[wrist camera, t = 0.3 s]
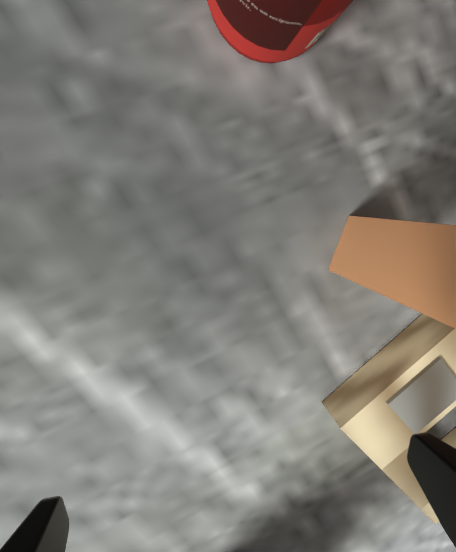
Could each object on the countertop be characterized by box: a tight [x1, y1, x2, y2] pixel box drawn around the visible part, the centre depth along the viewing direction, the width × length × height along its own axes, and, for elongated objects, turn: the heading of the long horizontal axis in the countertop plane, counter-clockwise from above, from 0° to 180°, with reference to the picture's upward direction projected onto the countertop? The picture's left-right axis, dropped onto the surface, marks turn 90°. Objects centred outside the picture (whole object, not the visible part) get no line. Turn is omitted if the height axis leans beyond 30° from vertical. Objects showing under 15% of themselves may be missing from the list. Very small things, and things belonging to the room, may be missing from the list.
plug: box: [328, 216, 456, 329], centre depth 16 cm, size 4×4×13 cm
